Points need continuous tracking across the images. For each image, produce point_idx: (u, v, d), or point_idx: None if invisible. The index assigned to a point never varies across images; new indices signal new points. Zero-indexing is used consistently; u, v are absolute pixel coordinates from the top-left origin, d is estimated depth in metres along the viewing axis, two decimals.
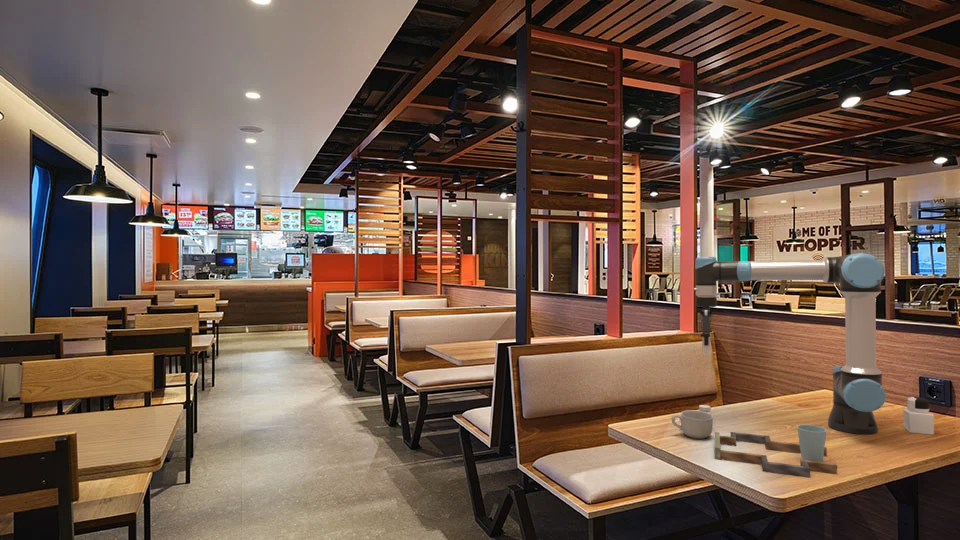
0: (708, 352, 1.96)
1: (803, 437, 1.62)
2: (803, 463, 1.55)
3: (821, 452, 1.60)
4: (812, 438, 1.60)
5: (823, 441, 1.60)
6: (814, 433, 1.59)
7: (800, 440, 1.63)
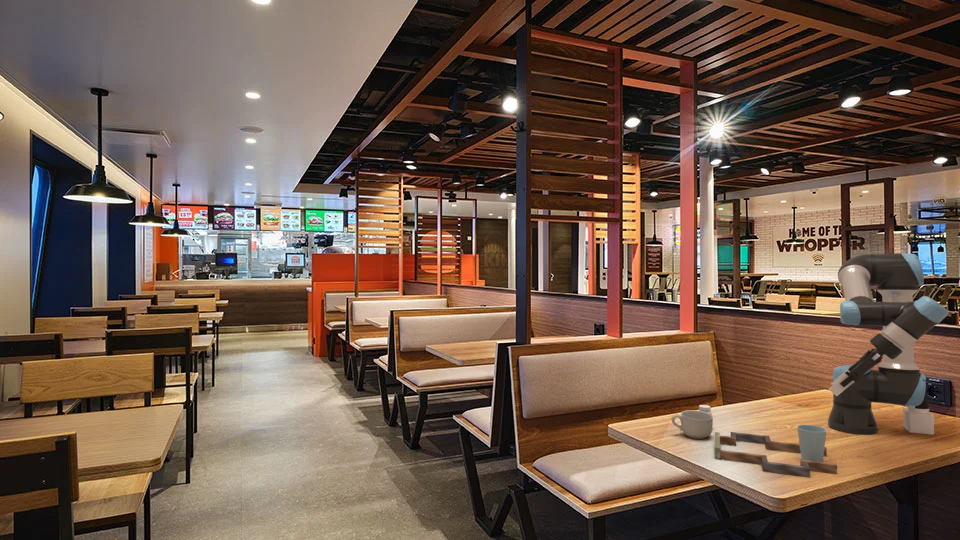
0: None
1: (803, 437, 1.62)
2: (803, 463, 1.55)
3: (821, 452, 1.60)
4: (812, 438, 1.60)
5: (823, 441, 1.60)
6: (814, 433, 1.59)
7: (800, 440, 1.63)
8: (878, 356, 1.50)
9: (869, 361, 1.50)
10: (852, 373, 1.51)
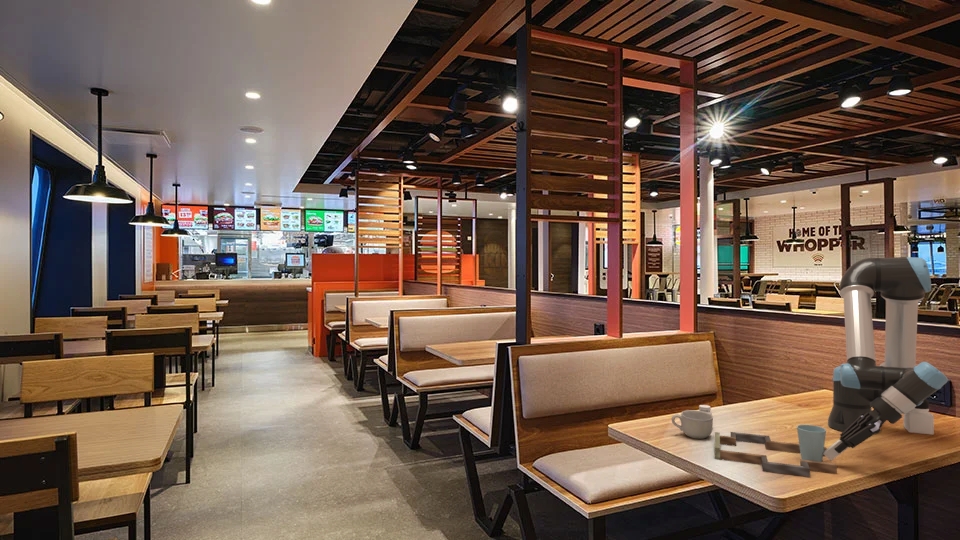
0: None
1: (803, 437, 1.62)
2: (803, 463, 1.55)
3: (821, 452, 1.60)
4: (812, 438, 1.60)
5: (823, 441, 1.60)
6: (814, 433, 1.59)
7: (800, 440, 1.63)
8: (876, 429, 1.50)
9: (866, 432, 1.52)
10: (847, 442, 1.55)
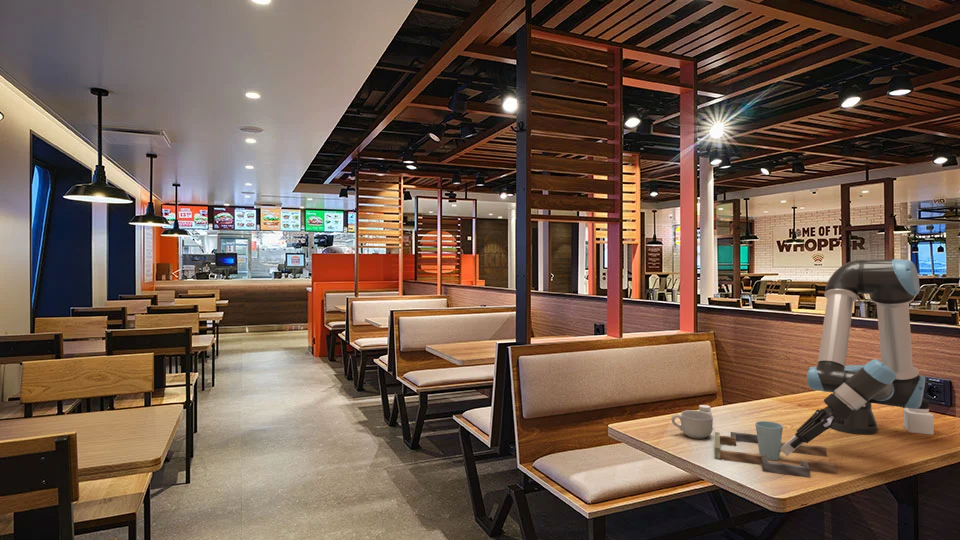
0: None
1: (760, 433, 1.66)
2: (803, 463, 1.55)
3: (777, 448, 1.64)
4: (768, 434, 1.64)
5: (779, 437, 1.64)
6: (770, 429, 1.64)
7: (758, 436, 1.67)
8: (828, 425, 1.54)
9: (819, 428, 1.56)
10: (802, 437, 1.59)
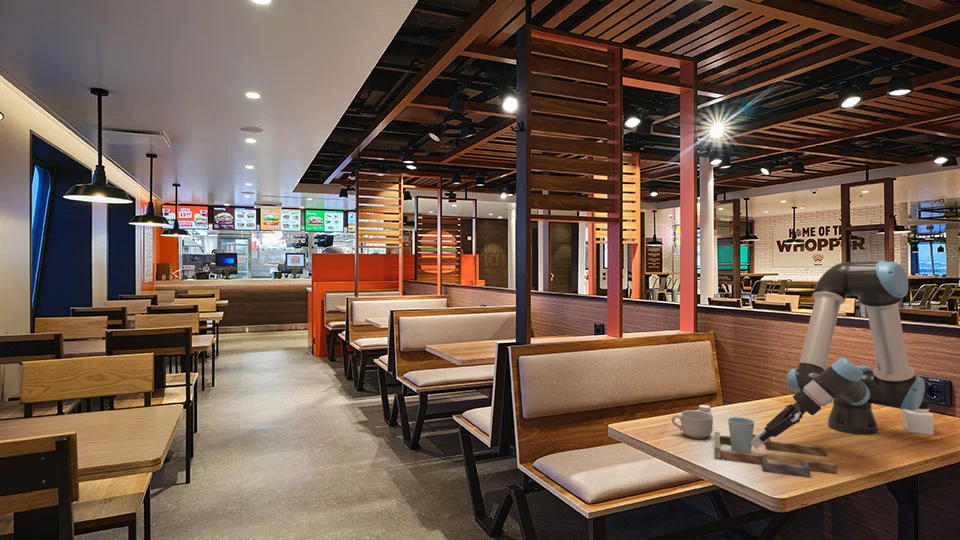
0: None
1: (732, 429, 1.71)
2: (803, 463, 1.55)
3: (749, 443, 1.69)
4: (740, 430, 1.69)
5: (750, 432, 1.69)
6: (742, 425, 1.68)
7: (730, 432, 1.72)
8: (795, 420, 1.59)
9: (787, 422, 1.61)
10: (770, 431, 1.64)
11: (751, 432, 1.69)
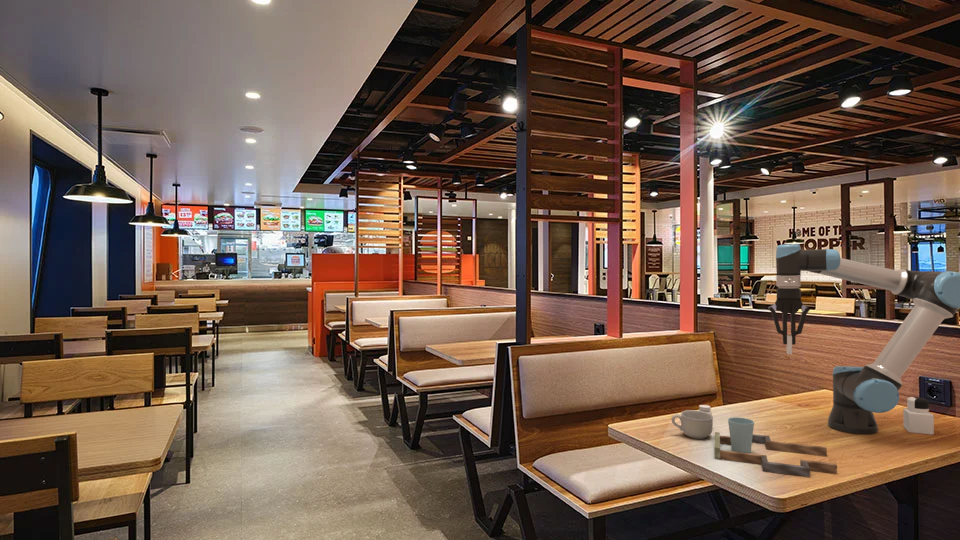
0: None
1: (732, 429, 1.71)
2: (803, 463, 1.55)
3: (749, 443, 1.69)
4: (740, 430, 1.69)
5: (750, 432, 1.69)
6: (742, 425, 1.68)
7: (730, 432, 1.72)
8: (769, 309, 1.90)
9: (772, 315, 1.90)
10: None
11: (751, 432, 1.69)
